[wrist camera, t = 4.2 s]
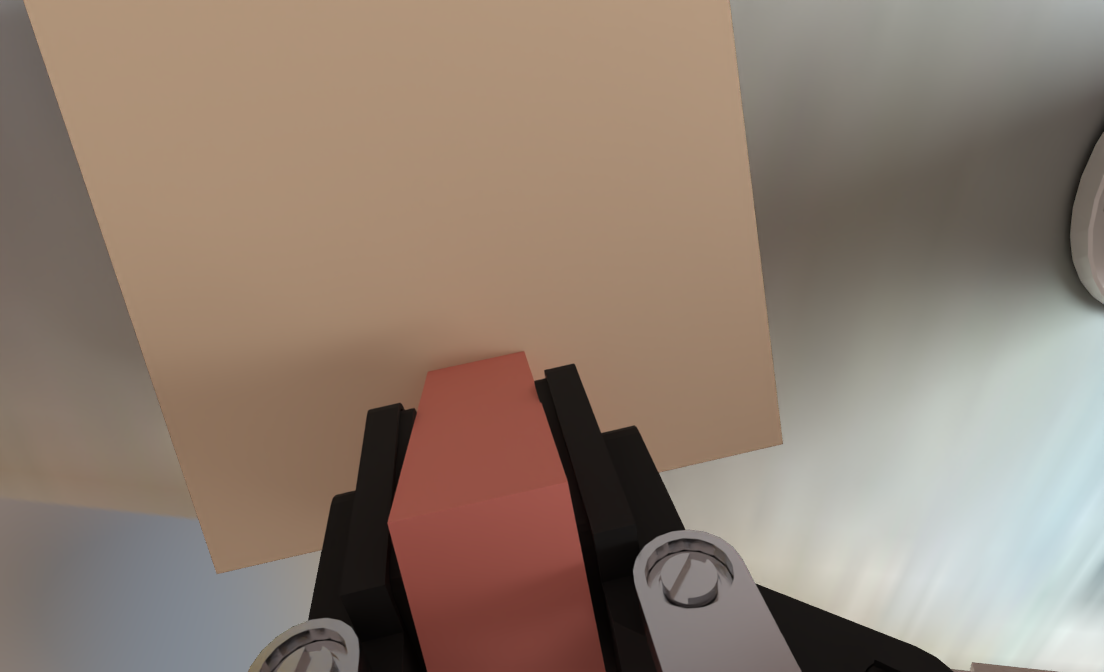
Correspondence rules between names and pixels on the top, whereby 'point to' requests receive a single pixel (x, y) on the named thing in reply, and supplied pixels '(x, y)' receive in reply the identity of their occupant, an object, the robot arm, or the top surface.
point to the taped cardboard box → (425, 268)
